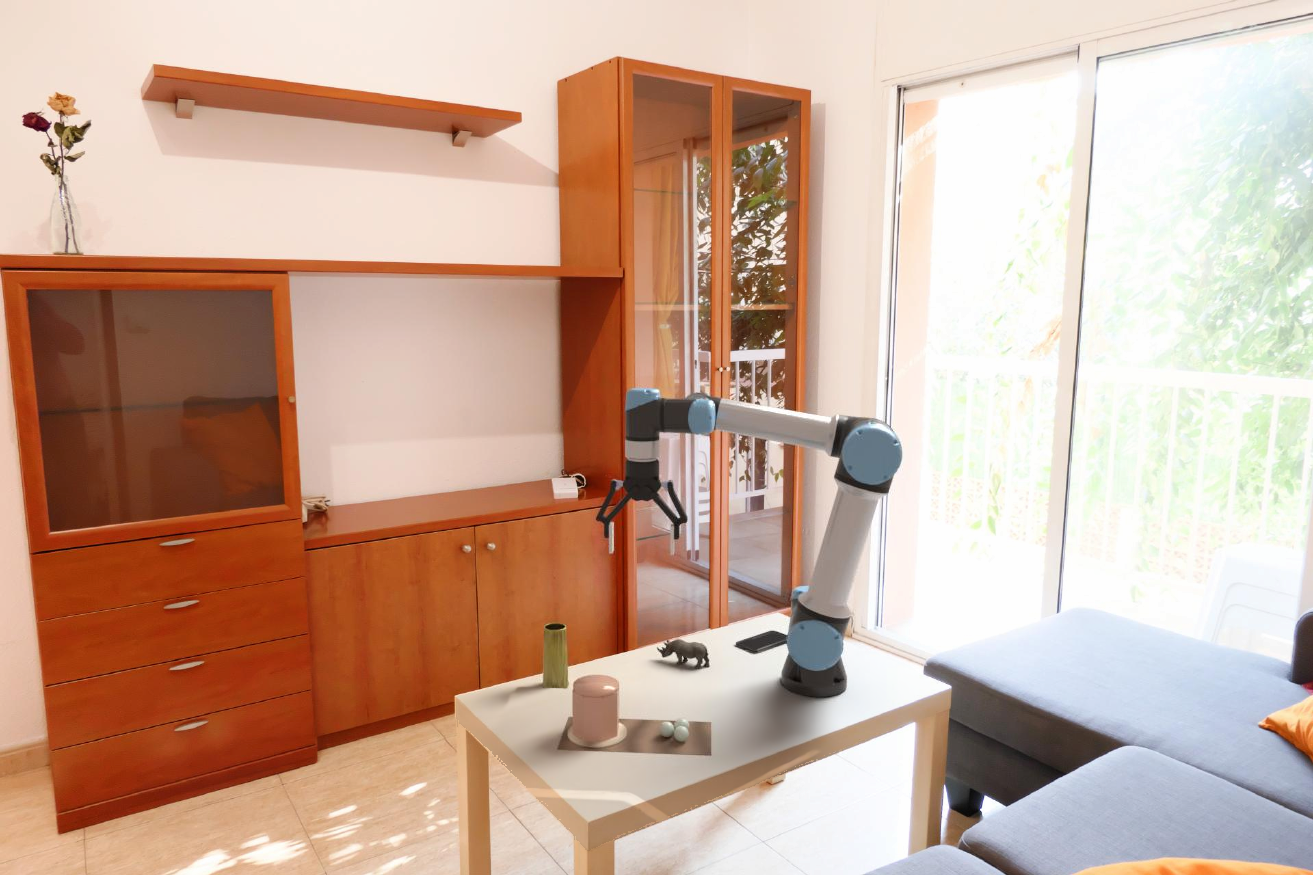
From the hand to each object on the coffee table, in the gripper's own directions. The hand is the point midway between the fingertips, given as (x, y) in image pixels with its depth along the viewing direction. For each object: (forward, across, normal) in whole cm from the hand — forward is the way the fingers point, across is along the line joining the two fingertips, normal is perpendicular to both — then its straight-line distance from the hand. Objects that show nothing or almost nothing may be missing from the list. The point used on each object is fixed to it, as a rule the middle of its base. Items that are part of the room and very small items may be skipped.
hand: (641, 552), depth 194 cm
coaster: (+31, +7, +23) cm, 40 cm away
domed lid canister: (+31, +7, +23) cm, 39 cm away
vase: (+33, +20, -2) cm, 38 cm away
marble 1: (+30, -7, +23) cm, 38 cm away
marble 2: (+30, -10, +21) cm, 38 cm away
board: (+33, -1, +23) cm, 40 cm away
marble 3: (+30, -10, +25) cm, 40 cm away
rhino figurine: (+33, -9, -18) cm, 38 cm away
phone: (+33, -30, -33) cm, 56 cm away
